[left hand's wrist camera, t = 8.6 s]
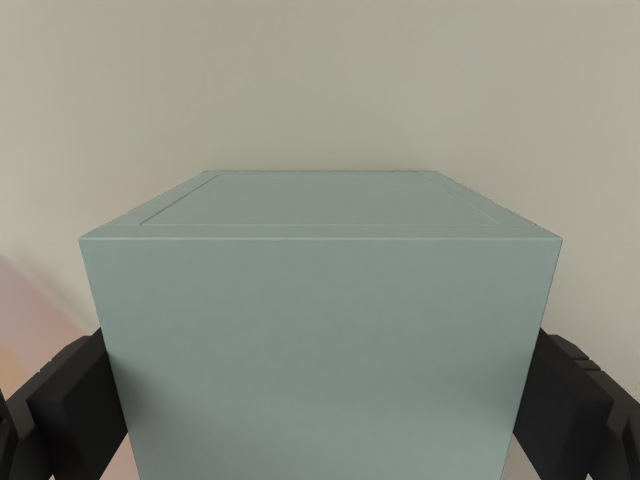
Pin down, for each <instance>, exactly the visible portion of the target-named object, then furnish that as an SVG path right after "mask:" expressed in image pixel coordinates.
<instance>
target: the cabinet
mask: <svg viewBox="0 0 640 480" xmlns="http://www.w3.org/2000/svg"><path fill="white" fill-rule="evenodd" d="M78 241H79V244H80V248H81V252H82V256H83V260H84V264H85V268H86V272H87V276H88V279H89V283H90V287H91V291H92V295H93V299H94V303H95V307H96V310H97V314H98V318H99V322H100V326H101V330H102V334H103V338H104V341H105V345H106V349H107V353H108V357H109V361H110V365H111V369H112V372H113V376H114V380H115V384H116V388H117V392H118V396H119V400H120V403H121V407H122V411H123V415H124V419H125V423H126V427H127V431H128V435H129V438H130V442H131V446H132V450H133V454H134V458H135V462H136V465H137V469H138V473H139V477H140V480H500V479H501V476H502V472H503V468H504V464H505V460H506V456H507V452H508V449H509V445H510V441H511V437H512V433H513V429H514V426H515V422H516V418H517V414H518V410H519V406H520V402H521V399H522V395H523V391H524V387H525V383H526V379H527V375H528V372H529V368H530V364H531V360H532V356H533V352H534V349H535V345H536V341H537V337H538V333H539V329H540V325H541V322H542V318H543V314H544V310H545V306H546V302H547V299H548V295H549V291H550V287H551V283H552V279H553V275H554V272H555V268H556V264H557V260H558V256H559V252H560V249H561V245H562V241H563V240H562V238H561V237H559V236H557V235H555V234H553V233H552V232H550V231H548V230H546V229H544V228H542V227H540V226H537V225H536V224H534V223H532V222H531V221H529V220H527V219H525V218H523V217H521V216H519V215H517V214H515V213H514V212H512V211H510V210H508V209H506V208H504V207H502V206H500V205H499V204H497V203H495V202H493V201H491V200H489V199H487V198H485V197H483V196H482V195H480V194H478V193H476V192H474V191H472V190H470V189H468V188H466V187H465V186H463V185H461V184H459V183H457V182H455V181H453V180H451V179H450V178H448V177H446V176H444V175H442V174H440V173H438V172H437V171H204V172H202V173H200V174H199V175H197V176H196V177H194V178H192V179H190V180H188V181H186V182H184V183H182V184H180V185H178V186H177V187H175V188H173V189H171V190H169V191H167V192H165V193H163V194H161V195H160V196H158V197H156V198H154V199H152V200H150V201H148V202H146V203H144V204H143V205H141V206H139V207H137V208H135V209H133V210H131V211H129V212H127V213H126V214H124V215H122V216H120V217H118V218H116V219H114V220H112V221H110V222H109V223H107V224H105V225H102V226H100V227H98V228H96V229H94V230H92V231H90V232H88V233H87V234H85V235H83V236H81V237H79V239H78Z"/></svg>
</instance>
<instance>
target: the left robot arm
mask: <svg viewBox="0 0 640 480" xmlns="http://www.w3.org/2000/svg"><path fill="white" fill-rule="evenodd" d="M127 433H128V431H127V427H126V423H125V419H124V415H123V411H122V407H121V403H120V400H119V396H118V392H117V388H116V384H115V380H114V376H113V372H112V369H111V365H110V361H109V357H108V353H107V349H106V345H105V341H104V338H103V334H102V330H101V327H100V328H99V329H98V330H97V331H96V332H95V333H94V334H93V335H92V336H83V337H81V338H79V339H77V340H76V341H74V342H72V343H70V344H69V345H67V346H66V347H64V348H63V349H62V350H61V351H60V352H59V353H58V354H57V355H56V356H54V357H53V358H52V361H51V362H48V363H47V364H46V365H45V366H44V367H42V368H41V369H40V372H37V373H36V374H35V375H34V376H33V377H32V378H30V379H29V380H28V381H27V382H26V383H25V384H24V385H23V386H22V387H21V388H20V389H19V390H17V391H16V392H15V393H14V394H13V395H12V396H11V397H10V398H9V399H8V400H7V401H5V399H4V397H3V394H2V392H1V389H0V480H49V479H50V477H51V476H52V475H54V478H55V480H99V479H100V477H101V476H102V474H103V472H104V471H105V469H106V468H107V466H108V464H109V462H110V461H111V459H112V458H113V456H114V454H115V453H116V451H117V449H118V448H119V446H120V444H121V443H122V441H123V439H124V438H125V436H126V434H127ZM513 434H514V435H515V437H516V439H517V440H518V442H519V444H520V445H521V447H522V449H523V450H524V452H525V454H526V455H527V457H528V459H529V460H530V462H531V464H532V465H533V467H534V469H535V470H536V472H537V474H538V475H539V477H540V478H541V480H585V479H586V477H587V474H588V473H589V475H590V476H591V477H592V479H593V480H640V404H639V403H638V402H637V401H636V400H635V399H634V398H633V397H632V396H630V395H629V394H628V393H627V392H626V391H625V390H624V389H623V388H622V387H621V386H620V385H618V384H617V383H616V382H615V381H614V380H613V379H612V378H611V377H610V376H609V375H607V374H606V373H605V372H604V371H601V368H600V367H599V366H598V365H596V364H595V363H594V362H593V361H592V360H589V357H588V356H587V355H586V354H584V353H583V352H582V351H581V350H580V349H579V348H578V347H577V346H576V345H574V344H572V343H571V342H569V341H567V340H565V339H564V338H562V337H560V336H558V335H548V334H547V333H546V332H545V331H544V330H543V329H542V328H541V327H540V329H539V333H538V337H537V341H536V345H535V349H534V352H533V356H532V360H531V364H530V368H529V372H528V375H527V379H526V383H525V387H524V391H523V395H522V399H521V402H520V406H519V410H518V414H517V418H516V422H515V426H514V429H513Z"/></svg>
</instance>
